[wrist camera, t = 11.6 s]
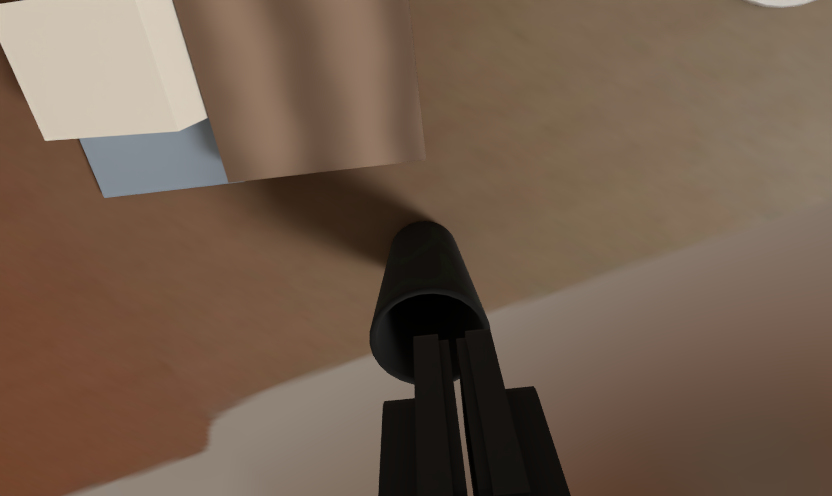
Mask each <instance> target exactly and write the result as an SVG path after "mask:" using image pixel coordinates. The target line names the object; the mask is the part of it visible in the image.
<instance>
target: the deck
mask: <svg viewBox="0 0 832 496" xmlns="http://www.w3.org/2000/svg"><path fill="white" fill-rule="evenodd" d="M174 4H175V7H176V10H177V14H178V17H179V20H180V24H181V27H182V30H183V34H184V37H185V40H186V44H187V47H188V50H189V54H190V57H191V60H192V63H193V67H194V70H195V73H196V77H197V80H198V83H199V87H200V90H201V93H202V97H203V100H204V103H205V107H206V110H207V113H208V117H209V120H210V123H211V127H212V130H213V133H214V137H215V140H216V143H217V147H218V150H219V153H220V157H221V160H222V163H223V167H224V170H225V173H226V176H227V180H228V183H232V182H241V181H249V180H258V179H266V178H275V177H284V176H292V175H301V174H309V173H318V172H326V171H335V170H344V169H352V168H361V167H369V166H378V165H386V164H395V163H404V162H412V161H421V160H426V155H425V145H424V136H423V127H422V118H421V109H420V99H419V90H418V81H417V72H416V62H415V53H414V44H413V35H412V25H411V16H410V7H409V0H174Z"/></svg>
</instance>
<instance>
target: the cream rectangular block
mask: <svg viewBox="0 0 832 496" xmlns="http://www.w3.org/2000/svg"><path fill="white" fill-rule="evenodd" d="M0 43H1V45H2V48H3V50H4V52H5V54H6V56H7V59H8V61H9V63H10V65H11V67H12V69H13V72H14V74H15V76H16V78H17V80H18V83H19V85H20V87H21V89H22V91H23V93H24V96H25V98H26V100H27V102H28V104H29V106H30V109H31V111H32V113H33V115H34V117H35V120H36V122H37V124H38V126H39V128H40V130H41V133H42V135H43V137H44V139H45V141H48V140H63V139H77V138H91V137H105V136H120V135H134V134H148V133H162V132H177V131H181V130H183V129H185V128H187V127H189V126H191V125H193V124H196V123H198V122H200V121H202V120H204V119H206V118H208V113H207V110H206V107H205V103H204V100H203V97H202V93H201V90H200V87H199V83H198V80H197V77H196V73H195V70H194V67H193V63H192V60H191V57H190V54H189V50H188V47H187V44H186V40H185V37H184V34H183V30H182V27H181V24H180V20H179V17H178V14H177V10H176V7H175V4H174V0H23V1H16V2H9V3H2V4H0Z"/></svg>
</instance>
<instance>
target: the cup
mask: <svg viewBox="0 0 832 496" xmlns="http://www.w3.org/2000/svg"><path fill="white" fill-rule="evenodd" d="M481 329H490V325H489V321H488V319H487V316H486V314H485V312H484V309H483V307H482V304H481V302H480V300H479V297H478V295H477V292H476V290H475V288H474V285H473V283H472V280H471V278H470V276H469V273H468V271H467V268H466V266H465V264H464V261H463V259H462V256H461V254H460V251H459V249H458V247H457V244H456V242H455V240H454V238H453V236H452V234H451V233H450V232H449V231H448V230H447V229H446V228H444V227H443V226H441V225H439V224H436V223H434V222H427V221H423V222H416V223H412V224H409V225H408V226H406V227H404V228H402V229H401V230H400V231H399V232H398V233H397V235H396V236H395V238H394V239H393V242H392V245H391V249H390V253H389V257H388V261H387V265H386V269H385V273H384V277H383V281H382V285H381V289H380V293H379V297H378V301H377V305H376V309H375V313H374V317H373V321H372V325H371V329H370V347H371V350H372V353H373V356H374V357H375V359H376V360H377V362H378V363H379V365H380V366H381V367H382V368H383V369H384V370H385V371H386V372H387V373H389V374H390V375H392V376H394V377H395V378H398V379H399V380H401V381H404V382H407V383H411V384H414V347H413V337H414V336H424V335H433V334H438V340H439V341H440V340H448V342H449V350H450V358H451V366H452V374H453V381H456V380H458V379H460V376H459V365H458V355H457V345H456V339H459V338H465V331H471V330H481Z"/></svg>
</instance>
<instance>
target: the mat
mask: <svg viewBox="0 0 832 496" xmlns="http://www.w3.org/2000/svg"><path fill="white" fill-rule="evenodd" d="M20 1H23V0H20ZM79 140H80V142H81V144H82V147H83V149H84V151H85V154H86V156H87V158H88V161H89V163H90V165H91V168H92V170H93V172H94V175H95V177H96V179H97V182H98V184H99V186H100V189H101V191H102V194H103V196H104V198H108V197H116V196H125V195H133V194H142V193H151V192H159V191H168V190H176V189H185V188H193V187H202V186H211V185H219V184H228V180H227V176H226V173H225V170H224V167H223V163H222V160H221V157H220V153H219V150H218V147H217V143H216V140H215V137H214V133H213V130H212V127H211V123H210V120H209V117H208V118H206V119H204V120H202V121H200V122H198V123H196V124H193V125H191V126H189V127H187V128H185V129H183V130H181V131H177V132H162V133H148V134H134V135H120V136H105V137H91V138H79ZM241 182H244V181H241ZM232 183H236V182H232Z"/></svg>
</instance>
